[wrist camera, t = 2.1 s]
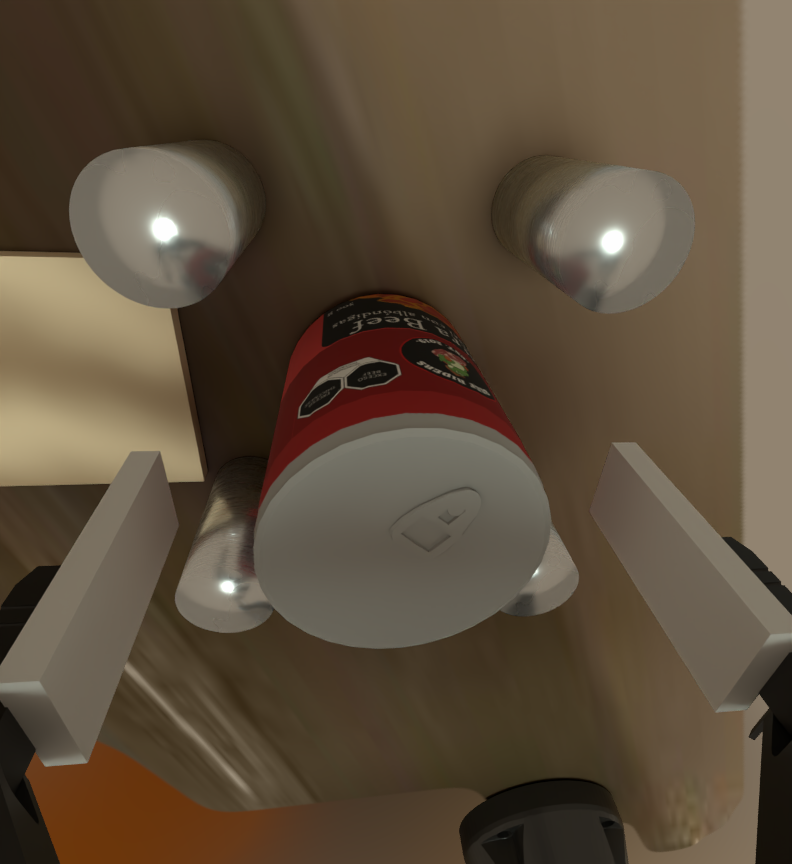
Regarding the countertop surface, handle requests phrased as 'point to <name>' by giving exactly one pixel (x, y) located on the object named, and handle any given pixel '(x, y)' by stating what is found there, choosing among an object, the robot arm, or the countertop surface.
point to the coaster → (88, 378)
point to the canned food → (393, 484)
